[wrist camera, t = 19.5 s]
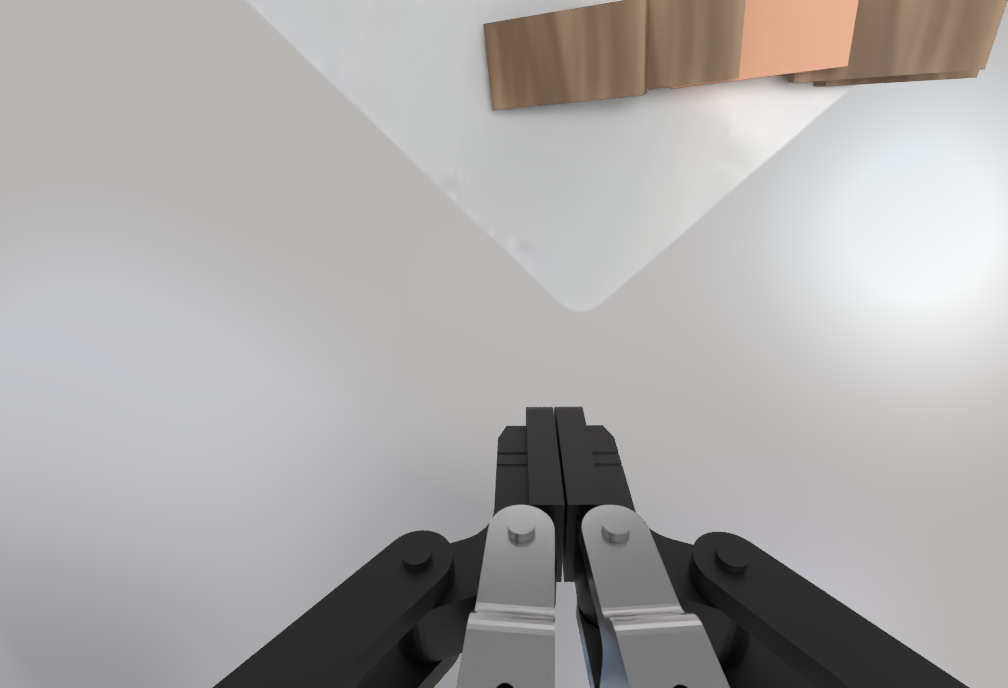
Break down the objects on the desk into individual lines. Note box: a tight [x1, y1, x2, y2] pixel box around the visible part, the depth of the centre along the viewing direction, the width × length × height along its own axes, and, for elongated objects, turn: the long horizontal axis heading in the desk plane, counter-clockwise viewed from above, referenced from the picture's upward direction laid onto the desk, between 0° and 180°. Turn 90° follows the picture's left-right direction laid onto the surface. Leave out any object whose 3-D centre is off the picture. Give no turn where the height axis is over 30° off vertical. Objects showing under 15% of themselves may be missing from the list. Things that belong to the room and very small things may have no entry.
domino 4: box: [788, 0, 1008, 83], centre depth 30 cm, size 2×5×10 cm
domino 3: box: [671, 0, 859, 89], centre depth 31 cm, size 2×5×10 cm
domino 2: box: [647, 0, 746, 89], centre depth 31 cm, size 2×5×10 cm
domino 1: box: [484, 0, 649, 110], centre depth 32 cm, size 2×5×10 cm
